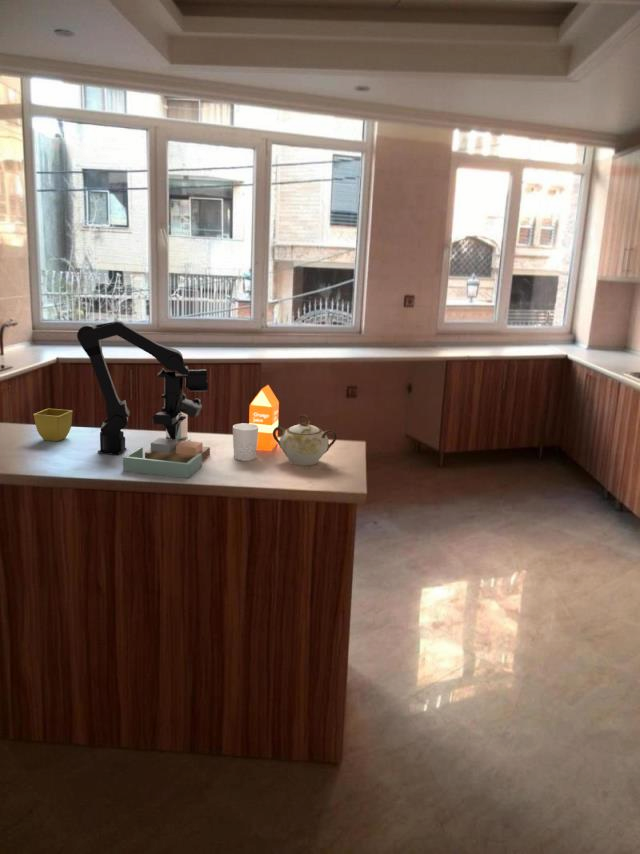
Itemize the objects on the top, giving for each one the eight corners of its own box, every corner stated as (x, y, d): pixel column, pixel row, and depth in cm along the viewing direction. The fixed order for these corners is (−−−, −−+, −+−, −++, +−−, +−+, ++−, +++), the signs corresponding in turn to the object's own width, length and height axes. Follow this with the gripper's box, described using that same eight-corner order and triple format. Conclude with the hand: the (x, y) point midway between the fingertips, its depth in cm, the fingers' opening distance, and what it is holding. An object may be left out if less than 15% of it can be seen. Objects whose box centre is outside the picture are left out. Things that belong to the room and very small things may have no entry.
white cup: (253, 462, 200) (254, 431, 198) (228, 459, 202) (229, 428, 199) (260, 455, 208) (261, 424, 205) (236, 452, 209) (237, 422, 207)
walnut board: (144, 460, 197) (144, 452, 196) (161, 449, 208) (161, 441, 208) (196, 466, 194) (196, 458, 194) (209, 454, 206) (210, 447, 205)
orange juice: (277, 443, 222) (280, 385, 217) (271, 451, 213) (273, 390, 208) (255, 441, 223) (256, 383, 218) (247, 448, 214) (249, 388, 209)
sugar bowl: (266, 466, 198) (267, 417, 194) (277, 452, 212) (278, 406, 209) (331, 472, 196) (334, 423, 192) (337, 458, 210) (340, 412, 206)
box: (123, 470, 187) (122, 457, 186) (139, 459, 197) (139, 447, 196) (188, 478, 184) (188, 464, 183) (201, 466, 194) (201, 453, 193)
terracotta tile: (176, 453, 197) (176, 445, 196) (183, 448, 202) (183, 440, 202) (195, 455, 196) (195, 447, 195) (202, 450, 201) (202, 442, 201)
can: (164, 434, 225) (164, 400, 222) (185, 434, 227) (185, 399, 224) (167, 440, 218) (167, 405, 215) (189, 439, 221) (189, 404, 218)
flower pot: (34, 441, 210) (32, 413, 207) (49, 434, 218) (48, 407, 216) (59, 444, 208) (58, 416, 206) (74, 437, 217) (73, 410, 214)
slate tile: (150, 451, 198) (150, 443, 197) (159, 445, 204) (159, 437, 203) (169, 453, 197) (169, 445, 196) (177, 447, 203) (177, 439, 202)
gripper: (187, 399, 193) (187, 450, 197) (208, 387, 211) (208, 435, 215) (151, 396, 195) (152, 447, 199) (175, 384, 213) (175, 431, 216)
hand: (173, 440), depth 207 cm, fingers closed
